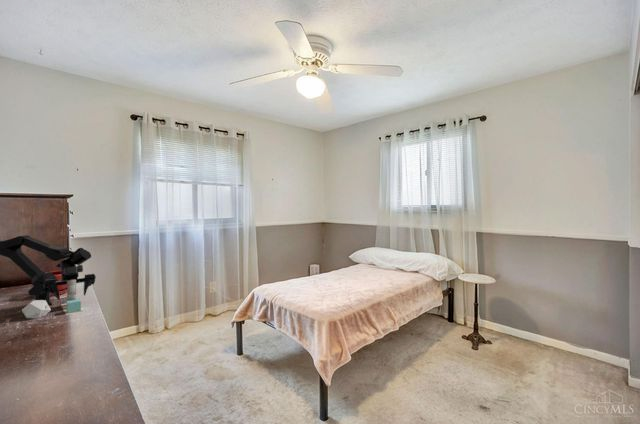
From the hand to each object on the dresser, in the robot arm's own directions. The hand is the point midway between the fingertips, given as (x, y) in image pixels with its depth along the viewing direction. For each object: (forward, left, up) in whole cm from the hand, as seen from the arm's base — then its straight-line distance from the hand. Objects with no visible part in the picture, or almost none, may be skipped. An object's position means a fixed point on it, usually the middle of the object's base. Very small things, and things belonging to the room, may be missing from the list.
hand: (72, 297), depth 136 cm
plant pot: (-42, -3, -7) cm, 43 cm away
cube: (+4, 0, -5) cm, 7 cm away
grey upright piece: (-2, 0, -7) cm, 7 cm away
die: (+1, -12, -7) cm, 14 cm away
